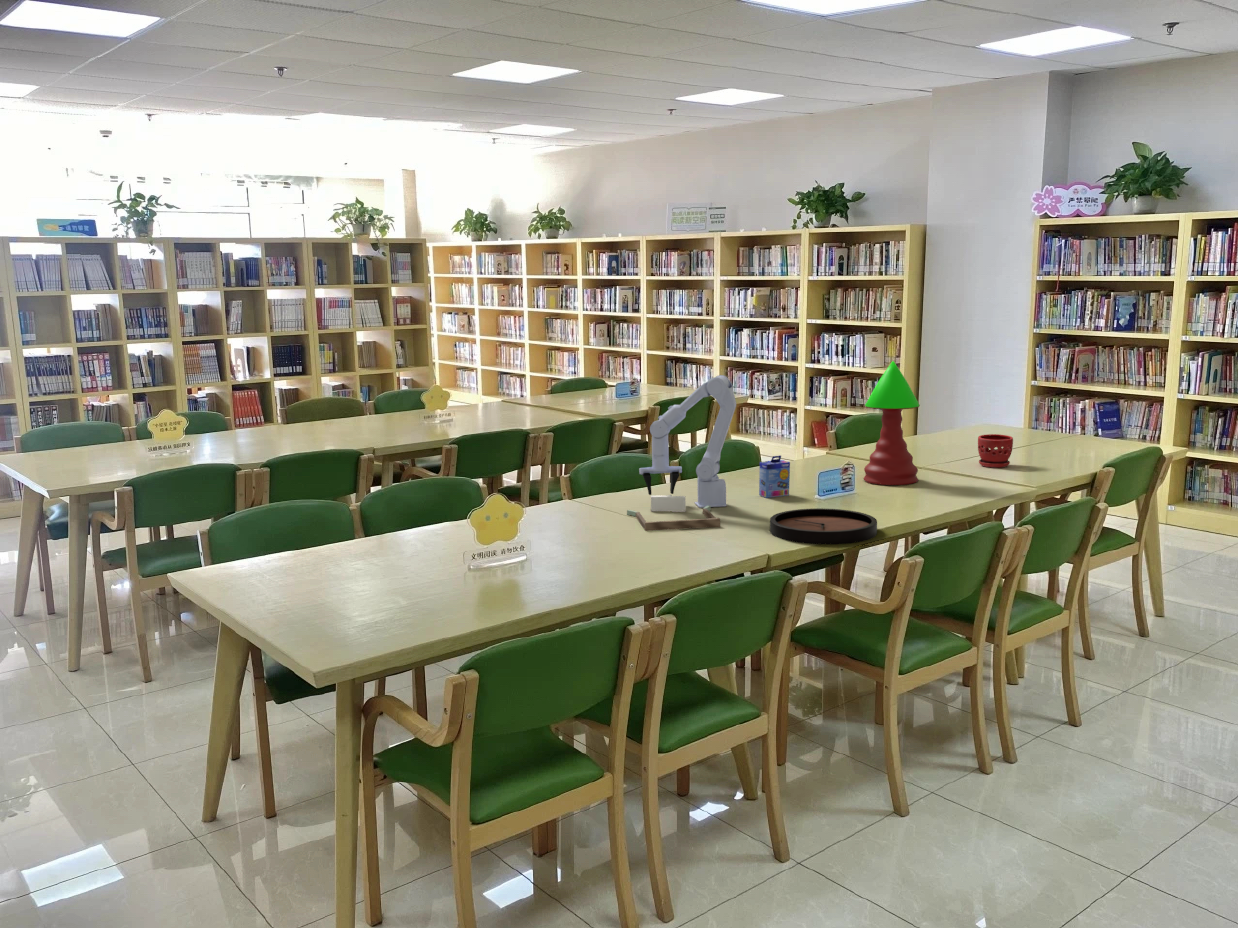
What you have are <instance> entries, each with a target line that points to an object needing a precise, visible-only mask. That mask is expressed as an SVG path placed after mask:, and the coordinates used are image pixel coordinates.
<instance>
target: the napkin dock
mask: <svg viewBox="0 0 1238 928" xmlns="http://www.w3.org/2000/svg"><path fill="white" fill-rule="evenodd" d="M711 510H712V507H711V506H706V507H703V508H702V515H704V516H705V517H706V518H695V519H680V520H679V519H677V520H658V521H646V520H645V517H643V515H642V514H641V512H640V511H635V510H632V509H627V510H626V515H627V516H630V515H632V517H635V518H636V519H637V521H638V522H639V524H640V525H641V527H642V528H643V529H644V531H645V532H646V531H647V532H652V531H653V532H654V531H668V530H686V529H702V528H704V529H705V528H720V527H721V518H720V517H716V516H715V515H713V513H711Z"/></svg>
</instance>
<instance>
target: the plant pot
mask: <svg viewBox="0 0 1238 928" xmlns="http://www.w3.org/2000/svg"><path fill="white" fill-rule="evenodd" d="M1013 447H1014V437H1012V436H1011V435H1007V434H1000V433H999V434H998V433H996V434H993V433H989V434H981V435H979V436H978V437H977V451H978V454H979V455H978V456H979V457H980V459H979V460H978V463H979V464H980V465H981V467H982V466H983V467H986V468H993V469H997V468H998V469H1001V468H1005V467H1008V466H1009V465H1010V464H1011V462H1010V460H1009V459H1010V458H1011V456H1012V455H1011V454H1012V452H1013ZM996 448H997V449H996Z"/></svg>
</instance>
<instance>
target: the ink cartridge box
mask: <svg viewBox="0 0 1238 928" xmlns="http://www.w3.org/2000/svg"><path fill="white" fill-rule="evenodd" d="M781 458H782V455H774V456H772V457H771V460H765V461H759V471H758V472H759V475H758V476H759V478H758V479H759V484H758V485H759V490H758V491H759V492H758V493H759V494H758V495H759V496H760V497H763V498H765V499H770V498H771V499H772V498H778V497H786V496H787V497H788V496H790V472H791V462H790V461H788V460H783V459H781Z"/></svg>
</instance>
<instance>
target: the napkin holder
mask: <svg viewBox="0 0 1238 928" xmlns="http://www.w3.org/2000/svg"><path fill="white" fill-rule="evenodd" d="M686 502H687V501H686V496H685V495H673V494H668V495H661V494H660V495H659V494H658V495H650V511H651V512H670V511H672V513H673V512H674V513H679V512H681V513H686V509H687V508H686Z"/></svg>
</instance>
